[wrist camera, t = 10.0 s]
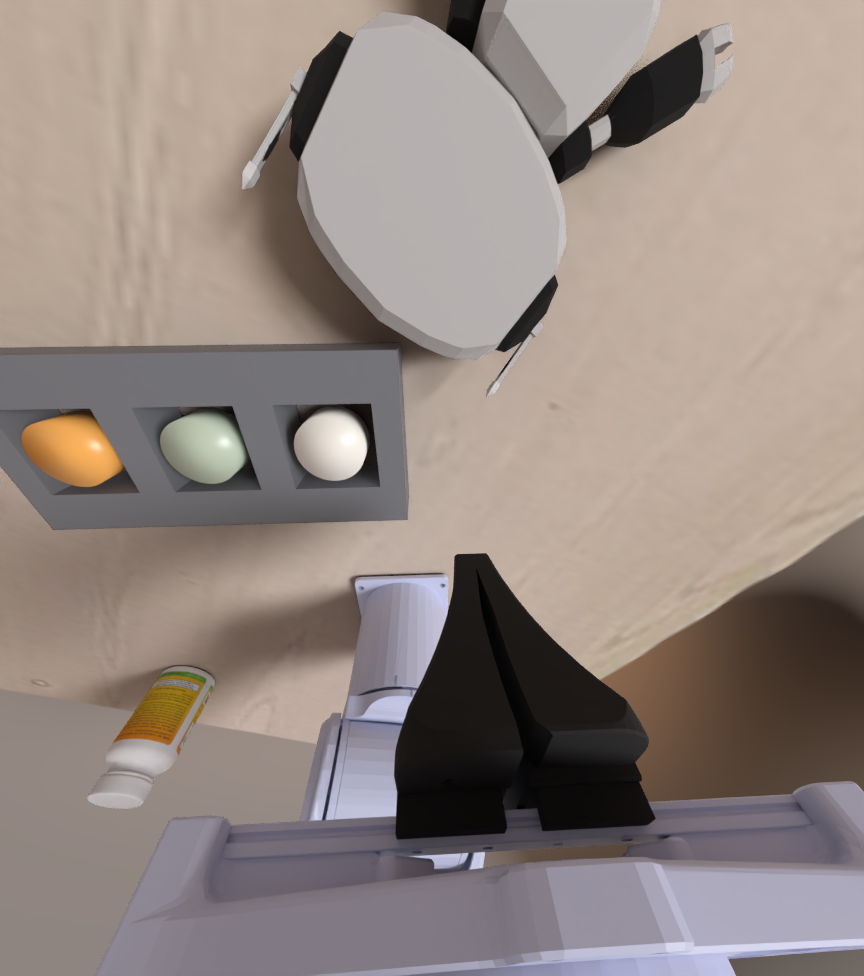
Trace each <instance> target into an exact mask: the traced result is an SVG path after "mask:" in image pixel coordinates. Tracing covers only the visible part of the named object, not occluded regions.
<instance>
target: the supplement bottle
mask: <svg viewBox="0 0 864 976" xmlns="http://www.w3.org/2000/svg"><path fill="white" fill-rule="evenodd" d="M214 686H215V680H214V678H213V677H212V676H211V675H210V674H208V673H207V672H205V671H203V670H200V669H197V668H194V667H189V666H175V667H171V668H168V669H166V670H164V671H163V672H162V673H161V675H160V676H159V677H158V679H157V680H156V682H155V683H154V684H153V686H152V687H151V689H150V690H149V692H148V693H147V695H146V696H145V698H144V699H143V701H142V702H141V703H140V705H139V706H138V708H137V709H136V710H135V712H134V713H133V715H132V717H131V718H130V719H129V721H128V722H127V724H126V725H125V727H124V728H123V729H122V731H121V732H120V734H119V735H118V736H117V738H116V739H115V741H114V742H113V744H112V746H111V747H110V748H109V750H108V752H107V754H106V757H105V762H106V764H107V766H108V767H109V770H108V771H107V772H106V773H104V774H102V775H101V777H100V778H99V779H98V781H97V782H96V784H95V785H94V787H93V788H92V790H91V791H90V793H89V794H88V796H87V800H88V801H89V802H91V803H93V804H96V805H99V806H103V807H110V808H118V809H126V808H135V807H138V806H140V805H142V803H143V802H144V800H145V798H146V796H147V795H148V793H149V791H150V790H151V788H152V785H153V783H154V781H153V778H154V776H155V775H158V774H161V773H163V772H165V771H166V770H167V769H168V768H170V767H171V766H172V764H173V763H174V762H175V760H176V758H177V756H178V755H179V753H180V751H181V749H182V747H183V745H184V743H185V741H186V739H187V738H188V736H189V734H190V732H191V730H192V728H193V726H194V724H195V723H196V721H197V719H198V717H199V715H200V713H201V711H202V709H203V708H204V706H205V704H206V702H207V700H208V698H209V696H210V694H211V692H212V690H213V688H214Z"/></svg>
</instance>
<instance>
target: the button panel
mask: <svg viewBox="0 0 864 976" xmlns="http://www.w3.org/2000/svg"><path fill="white" fill-rule="evenodd" d="M370 403H371V407H372V416H373V425H374V434H375V443H376V452H377V461H378V465H362V467H361V468H360V470H359V471H358V472H357V473H356V474H355V475H353V476H352V477H350V478H348V479H345V480H340V481H330V480H325V479H321V478H319V477H317V476H314V475H313V474H311V473H310V472H308V471H307V470H306V469H305V468H304V467H303V466H302V465H301V463H300V462H299V460H298V458H297V456H296V454H295V450H294V438H295V435H296V432H297V431H298V429H299V428H300V427H301V422H300V418H299V414H298V409H297V405H314V404H370ZM202 406H232V407H233V410H234V413H235V415H236V418H237V421H238V424H239V427H240V430H241V433H242V435H243V438H244V441H245V444H246V447H247V450H248V453H249V456H250V458H251V461H252V464H253V467H251V468H241V469H240V470H238V471H237V472H236V473H235V474H234V475H233V476H232V477H231V478H230V479H228V480H227V481H225V482H222V483H217V484H207V483H201V482H197V481H194V480H192V479H190V478H188V477H186V476H184V475H183V474H181V473H180V472H178V471H177V470H176V469H175V468H174V467H173V466H172V465H171V464H170V463H169V462H168V461H167V459H166V458H165V456H164V454H163V452H162V449H161V445H160V437H161V433H162V431H163V429H164V428H165V427H166V426H167V425H168V424H170V423H171V422H173V421H176V420H178V419H180V418H182V417H183V416H182V414H181V412H180V409H179V407H202ZM89 408H90V410H91V411H92V413H93V415H94V416H95V418H96V420H97V421H98V423H99V425H100V426H101V428H102V430H103V431H104V433H105V435H106V436H107V438H108V440H109V442H110V443H111V445H112V447H113V448H114V450H115V452H116V453H117V455H118V457H119V458H120V460H121V462H122V463H123V465H124V467H125V468H126V470H124V471H122V472H120V473H118V474H117V475H115V476H113V477H111V478H109V479H108V480H106V481H104V482H102V483H101V484H99V485H96V486H92V487H79V486H74V485H70V484H67V483H64V482H61V481H59V480H57V479H55V478H53V477H51V476H50V475H48V474H47V473H45V472H44V471H43V470H41V469H40V468H39V467H38V466H37V465H36V464H35V463H34V462H33V461H32V460H31V459H30V458H29V456H28V455H27V453H26V452H25V450H24V447H23V445H22V433H23V431H24V430H25V428H26V427H28V426H29V425H31V424H34V423H37V422H40V421H43V420H47V419H50V418H53V417H56V416H59V415H62V414H61V413H60V411H59V410H58V409H89ZM0 466H1V468H2V469H3V470H4V471H5V472H6V474H7V475H8V476H9V477H10V478H11V480H12V481H13V482H14V483H15V484H16V486H17V487H18V488H19V489H20V490H21V492H22V493H23V494H24V495H25V496H26V498H27V499H28V500H29V501H30V502H31V504H32V505H33V506H34V507H35V509H36V510H37V511H38V512H39V513H40V515H41V516H42V517H43V518H44V519H45V521H46V522H47V523H48V524H49V525H50V527H51V528H52V529H53V530H66V529H101V528H137V527H172V526H207V525H243V524H278V523H314V522H349V521H384V520H408V502H409V488H408V470H407V452H406V434H405V416H404V398H403V380H402V362H401V344H400V343H354V344H274V345H193V346H113V347H32V348H0Z"/></svg>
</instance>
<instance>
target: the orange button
mask: <svg viewBox="0 0 864 976" xmlns="http://www.w3.org/2000/svg"><path fill="white" fill-rule="evenodd" d="M22 445H23V447H24V450H25V452H26V453H27V455H28V456H29V458H30V459H31V460H32V461H33V462H34V463H35V464H36V465H37V466H38V467H39V468H40V469H41V470H43V471H44V472H45V473H47V474H48V475H50V476H51V477H53V478H55V479H57V480H59V481H61V482H64V483H67V484H70V485H74V486H79V487H92V486H96V485H99V484H101V483H102V482H104V481H106V480H108V479H109V478H111V477H113V476H115V475H117V474H118V473H120V472H122V471H124V470H125V469H126V468H125V467H124V465H123V463H122V462H121V460H120V458H119V457H118V455H117V453H116V452H115V450H114V448H113V447H112V445H111V443H110V442H109V440H108V438H107V436H106V435H105V433H104V431H103V430H102V428H101V426H100V425H99V423H98V421H97V420H96V418H95V416H94V415H93V413H92V412H90V411H82V410H79V411H72V412H69V413H66V414H63V415H59V416H56V417H53V418H50V419H47V420H43V421H40V422H37V423H34V424H31V425H29V426H28V427H26V428H25V430H24V431H23V433H22Z"/></svg>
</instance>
